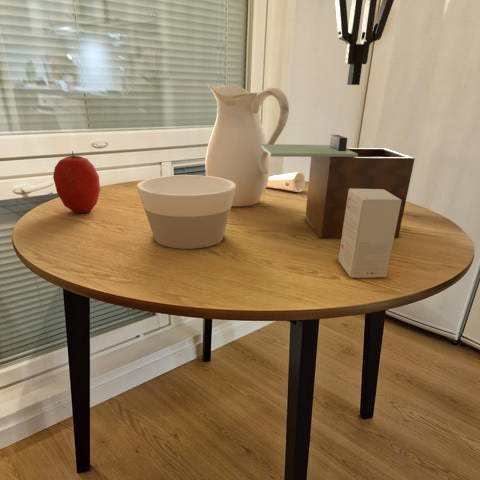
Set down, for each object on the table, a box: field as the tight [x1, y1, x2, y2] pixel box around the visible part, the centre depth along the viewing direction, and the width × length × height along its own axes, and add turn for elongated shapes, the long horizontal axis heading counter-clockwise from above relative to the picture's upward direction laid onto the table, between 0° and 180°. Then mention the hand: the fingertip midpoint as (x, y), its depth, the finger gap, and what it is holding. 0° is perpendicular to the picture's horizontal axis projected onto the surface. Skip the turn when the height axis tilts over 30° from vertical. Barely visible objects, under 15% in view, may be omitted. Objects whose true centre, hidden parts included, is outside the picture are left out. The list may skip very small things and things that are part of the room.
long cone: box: [266, 171, 306, 193], centre depth 131 cm, size 6×6×19 cm
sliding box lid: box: [261, 134, 358, 158], centre depth 86 cm, size 17×13×3 cm
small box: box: [337, 189, 402, 279], centre depth 71 cm, size 8×6×13 cm
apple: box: [52, 150, 101, 214], centre depth 100 cm, size 10×10×14 cm
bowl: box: [136, 174, 236, 250], centre depth 85 cm, size 19×19×11 cm
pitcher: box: [204, 83, 290, 207], centre depth 106 cm, size 24×17×28 cm
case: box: [304, 147, 416, 239], centre depth 92 cm, size 17×14×16 cm
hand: (353, 84), depth 81 cm, fingers closed
